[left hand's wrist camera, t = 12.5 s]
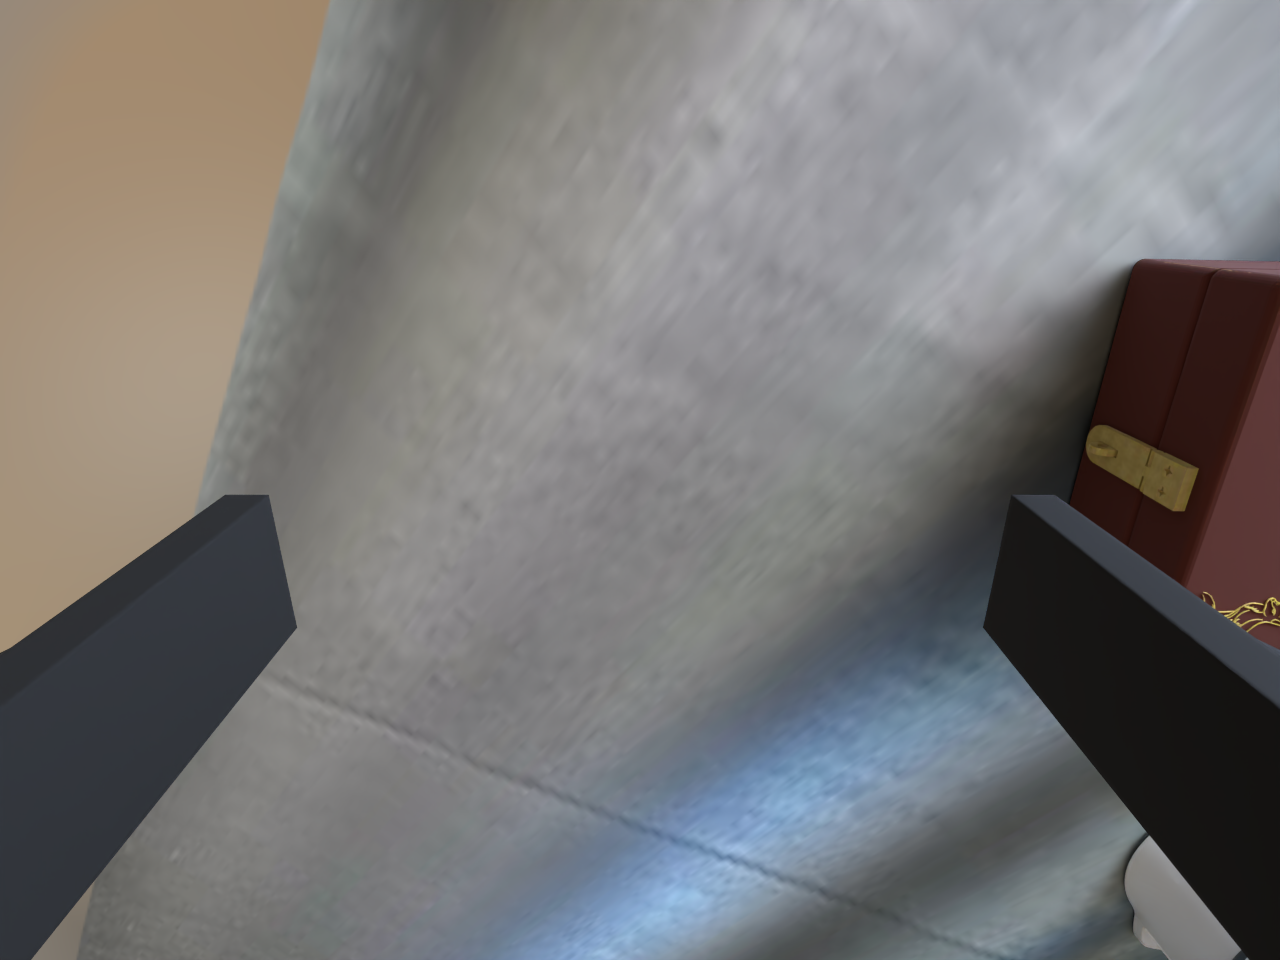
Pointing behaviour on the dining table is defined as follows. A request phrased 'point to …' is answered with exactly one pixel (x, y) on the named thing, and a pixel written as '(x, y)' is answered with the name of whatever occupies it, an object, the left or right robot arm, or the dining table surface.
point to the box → (1195, 434)
